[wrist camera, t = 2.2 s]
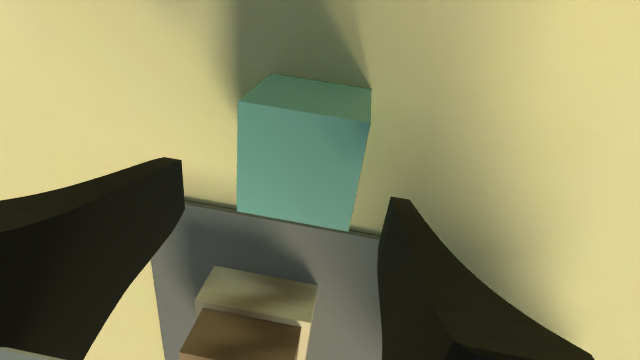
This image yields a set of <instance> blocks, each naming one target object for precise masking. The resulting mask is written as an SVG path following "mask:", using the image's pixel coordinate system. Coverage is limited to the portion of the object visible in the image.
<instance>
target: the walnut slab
mask: <svg viewBox="0 0 640 360" xmlns="http://www.w3.org/2000/svg"><path fill="white" fill-rule="evenodd" d="M301 328H302V327H298V326H293V325H288V324H283V323H278V322H273V321H268V320H263V319H258V318H253V317H248V316H243V315H238V314H233V313H228V312H223V311H218V310H213V309H208V308H203V309H202V310H201V312H200V314H199V316H198V318H197V320H196V322H195V324H194V325H193V327H192V329H191V331H190V333H189V335H188V337H187V338H186V340H185V342H184V344H183V346H182V348H181V350H180V351H179V356H180V360H297V355H298V348H299V341H300V335H301Z"/></svg>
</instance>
